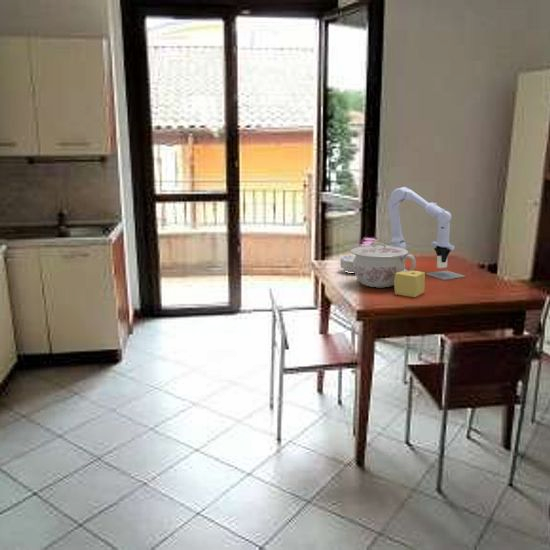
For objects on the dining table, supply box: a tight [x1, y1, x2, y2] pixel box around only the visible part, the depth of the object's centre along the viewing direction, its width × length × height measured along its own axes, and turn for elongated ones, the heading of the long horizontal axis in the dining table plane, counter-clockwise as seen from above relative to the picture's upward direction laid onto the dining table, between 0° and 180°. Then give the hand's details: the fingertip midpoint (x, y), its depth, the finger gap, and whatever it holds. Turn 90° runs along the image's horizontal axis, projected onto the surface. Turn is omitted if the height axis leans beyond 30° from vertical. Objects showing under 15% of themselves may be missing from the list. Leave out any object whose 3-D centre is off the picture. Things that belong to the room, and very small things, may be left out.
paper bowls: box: [339, 254, 356, 272], centre depth 291 cm, size 15×15×8 cm
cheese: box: [393, 270, 426, 298], centre depth 249 cm, size 10×11×10 cm
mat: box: [425, 270, 467, 281], centre depth 281 cm, size 14×14×1 cm
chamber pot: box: [350, 242, 417, 289], centre depth 264 cm, size 28×28×21 cm
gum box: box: [358, 236, 379, 247], centre depth 309 cm, size 24×8×14 cm, turn 162°
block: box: [436, 255, 449, 269], centre depth 281 cm, size 5×2×6 cm, turn 115°
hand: (442, 261), depth 281 cm, fingers closed on block, 2 cm apart
